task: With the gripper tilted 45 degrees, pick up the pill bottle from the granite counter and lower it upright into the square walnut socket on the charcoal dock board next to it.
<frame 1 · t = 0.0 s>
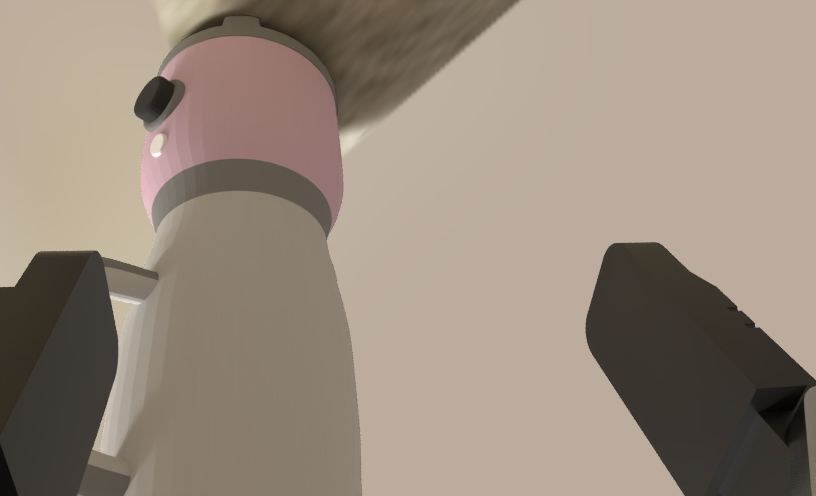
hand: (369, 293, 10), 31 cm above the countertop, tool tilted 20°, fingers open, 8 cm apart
blender: (231, 76, 43), on the countertop
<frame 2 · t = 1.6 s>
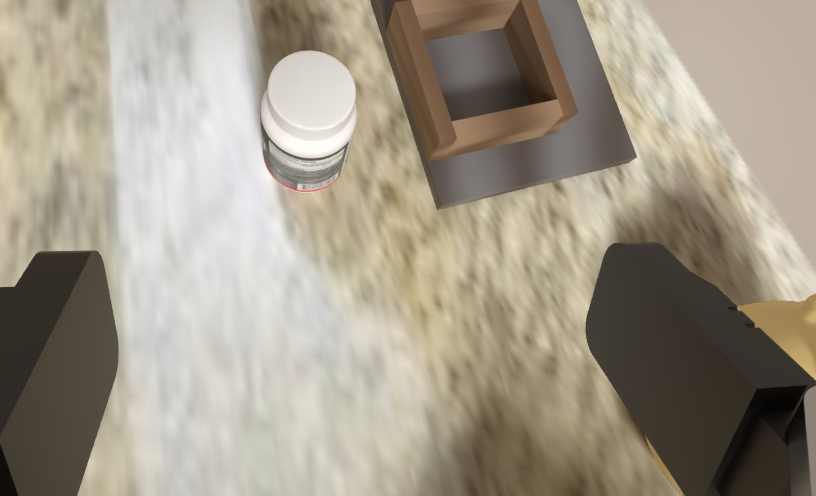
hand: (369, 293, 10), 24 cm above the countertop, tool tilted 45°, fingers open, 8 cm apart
pill bottle: (304, 157, 36), on the countertop
socket dock: (467, 90, 39), on the countertop
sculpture: (703, 411, 37), on the countertop
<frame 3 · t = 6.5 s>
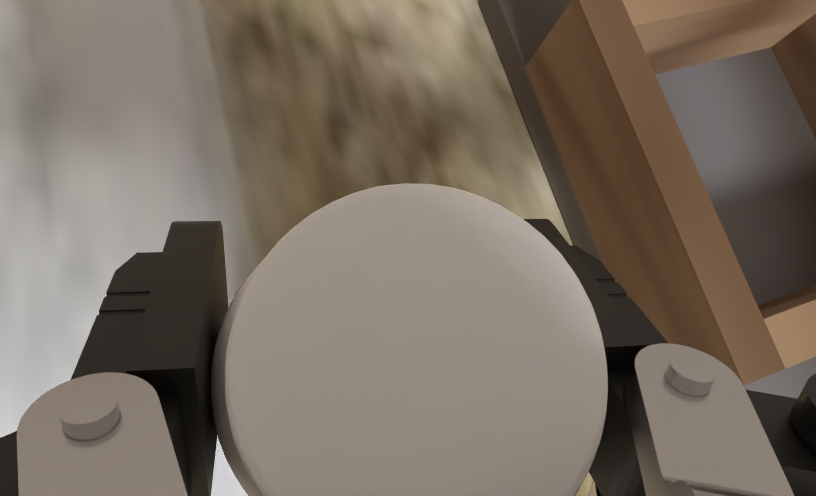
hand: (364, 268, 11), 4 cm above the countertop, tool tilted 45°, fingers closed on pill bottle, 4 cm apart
pill bottle: (345, 389, 14), on the countertop, touching gripper
socket dock: (702, 192, 17), on the countertop
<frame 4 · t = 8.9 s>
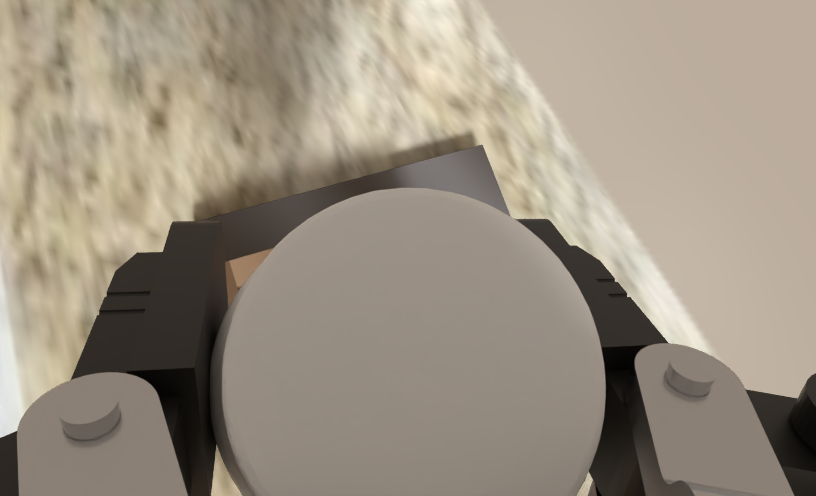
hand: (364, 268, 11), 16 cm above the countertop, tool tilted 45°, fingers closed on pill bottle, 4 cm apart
pill bottle: (344, 391, 14), point 12 cm above the countertop, touching gripper
socket dock: (342, 353, 26), on the countertop
when the fingers open (6 cm above the countertop, at t = 11.4 s): pill bottle stays where it is, resting on socket dock.
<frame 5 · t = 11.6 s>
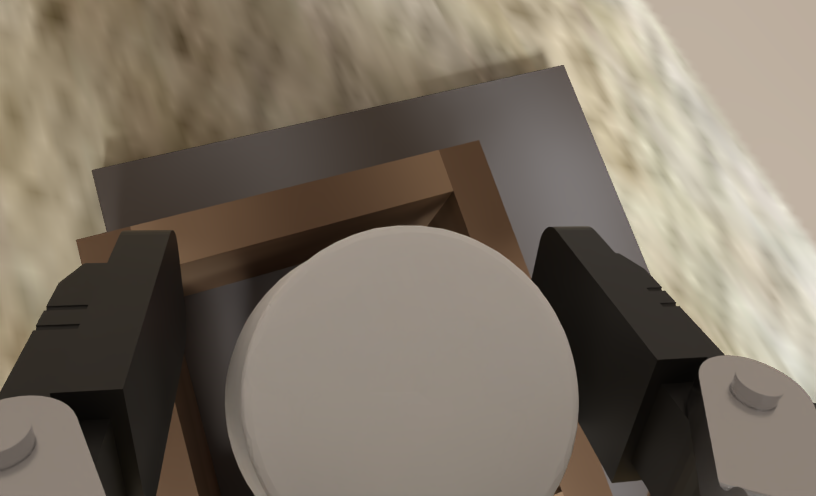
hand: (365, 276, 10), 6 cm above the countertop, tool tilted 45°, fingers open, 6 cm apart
pill bottle: (348, 399, 15), point 1 cm above the countertop, touching socket dock
socket dock: (339, 391, 16), on the countertop
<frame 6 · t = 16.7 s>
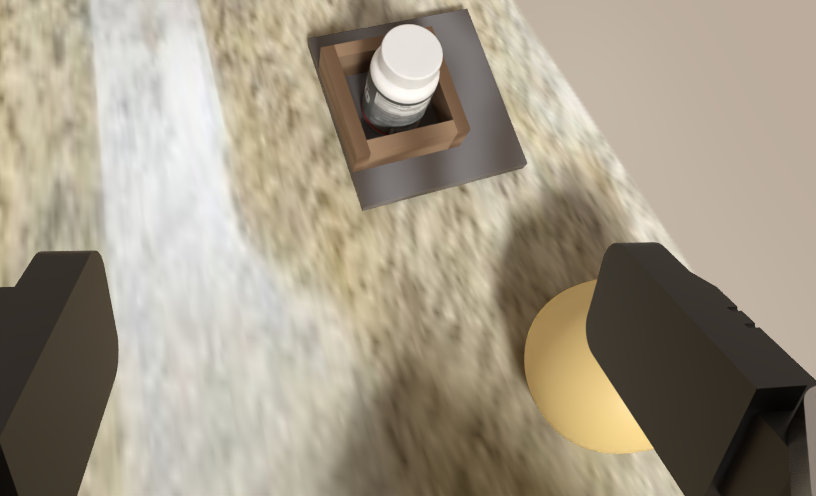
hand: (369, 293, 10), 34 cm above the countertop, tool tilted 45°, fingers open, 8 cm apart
pill bottle: (391, 112, 47), point 1 cm above the countertop, touching socket dock
socket dock: (387, 114, 48), on the countertop
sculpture: (583, 367, 46), on the countertop
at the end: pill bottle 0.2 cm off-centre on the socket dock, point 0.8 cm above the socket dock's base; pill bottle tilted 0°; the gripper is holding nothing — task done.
